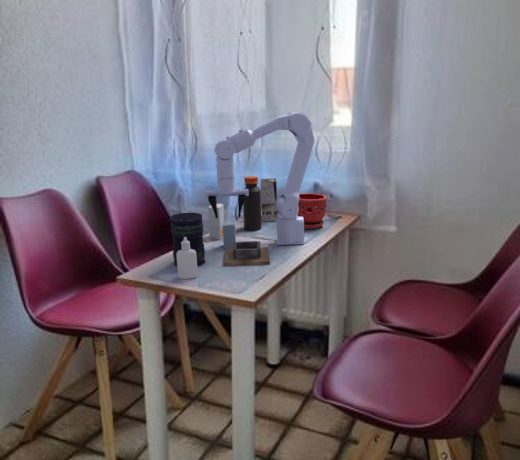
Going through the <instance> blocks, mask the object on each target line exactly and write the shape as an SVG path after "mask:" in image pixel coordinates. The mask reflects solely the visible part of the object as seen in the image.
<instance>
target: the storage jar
mask: <svg viewBox="0 0 520 460" xmlns="http://www.w3.org/2000/svg"><path fill="white" fill-rule="evenodd" d="M169 218H170V219H169V221H170V230H171V231H170V232H171V233H170V234H171V236H172V257H173V260H174V261H173V264H174V266H175V267H176V268H177V252H178V251H179V250H182V247H181V242H182V241H183V240H184V237H186V238H187V241H189V242H190V249H193V250H195V251H196V257H197V268H198V267H201V266H203V265H204V264H206V259H205V258H206V252H205V251H206V249H205V244H204V236H203V235H204V223H203V215H202V214H201V213H197V212H183V213H181V212H180V213H177V214H174V215H173V214H172V215H171V216H170V217H169Z"/></svg>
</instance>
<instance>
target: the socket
mask: <svg viewBox="0 0 520 460" xmlns="http://www.w3.org/2000/svg"><path fill="white" fill-rule="evenodd" d="M269 251H270V249H269V246H261V241H258V240H250V241H247V240H245V241H236V242H234V244H233V248H225V254H224V261H223V266H225V267H230V266H232V267H233V266H257V265H259V266H261V265H271V258H270V252H269Z"/></svg>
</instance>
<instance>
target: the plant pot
mask: <svg viewBox="0 0 520 460" xmlns="http://www.w3.org/2000/svg"><path fill="white" fill-rule="evenodd" d="M327 204H328V198H327V196H326V195H325V194H320V193H308V192H307V193H299V203H298V207H299V212H298V214H297V215H298V216H299V217H303V219H304V230H305V229H307V230H312V229H313V230H314V229H317V228H318V229H319V228H321V227H322V226H323V225H324V223H325V221H324V220H323V219H324V217H325V214H326V211H327Z"/></svg>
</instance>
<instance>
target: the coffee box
mask: <svg viewBox="0 0 520 460" xmlns="http://www.w3.org/2000/svg"><path fill="white" fill-rule="evenodd" d="M277 182H278V181H277V178H261V179H260V192H261V222H277V214H278V210H277V208H276V201H277V199H278V190H277V189H278V188H277V187H278V185H277Z"/></svg>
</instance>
